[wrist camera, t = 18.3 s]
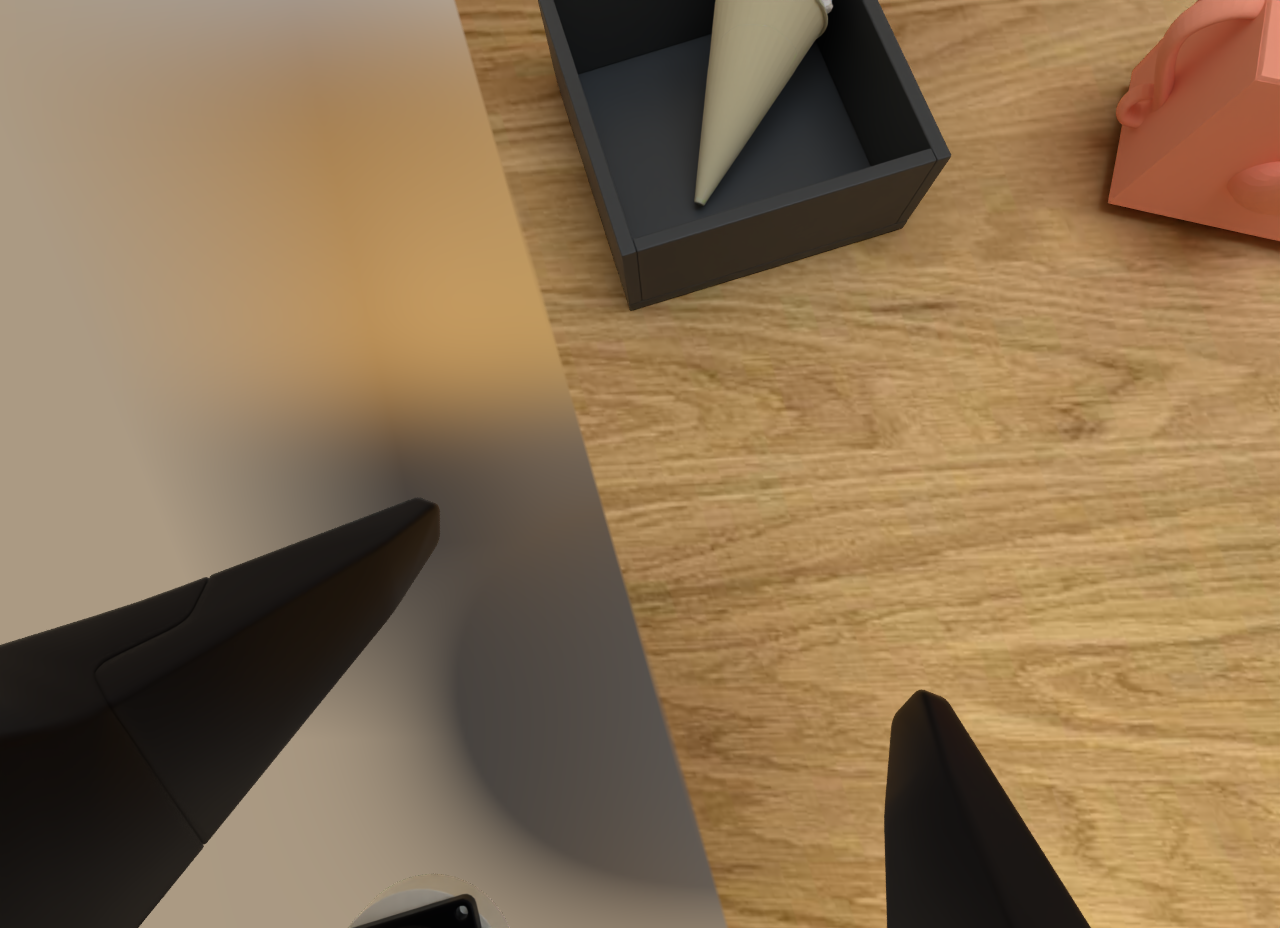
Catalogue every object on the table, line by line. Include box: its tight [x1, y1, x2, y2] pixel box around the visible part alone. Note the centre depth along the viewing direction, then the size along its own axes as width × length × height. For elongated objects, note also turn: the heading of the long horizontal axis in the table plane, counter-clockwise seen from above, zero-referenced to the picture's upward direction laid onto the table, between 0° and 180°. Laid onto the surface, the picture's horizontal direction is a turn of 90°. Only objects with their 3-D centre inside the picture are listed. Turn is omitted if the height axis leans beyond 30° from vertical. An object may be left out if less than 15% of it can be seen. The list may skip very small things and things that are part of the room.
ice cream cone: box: [694, 0, 833, 206], centre depth 23 cm, size 5×5×15 cm
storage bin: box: [538, 0, 951, 310], centre depth 25 cm, size 13×13×5 cm
